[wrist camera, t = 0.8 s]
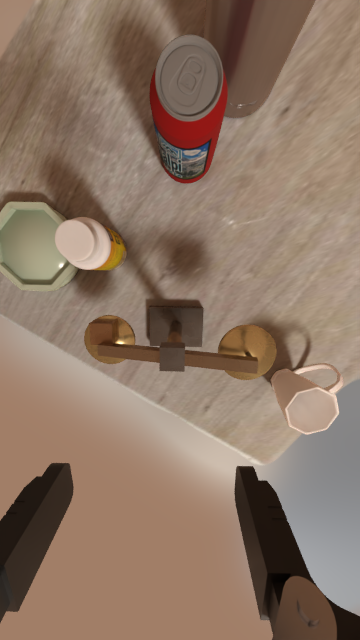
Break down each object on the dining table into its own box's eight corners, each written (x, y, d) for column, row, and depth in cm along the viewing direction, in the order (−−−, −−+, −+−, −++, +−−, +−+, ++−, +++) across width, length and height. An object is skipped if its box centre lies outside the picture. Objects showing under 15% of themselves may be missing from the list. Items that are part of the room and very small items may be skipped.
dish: (-8, 203, 30) (-20, 199, 28) (78, 205, 30) (71, 201, 28) (6, 289, 32) (-4, 290, 31) (84, 291, 32) (79, 292, 31)
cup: (253, 378, 35) (274, 408, 27) (305, 340, 34) (342, 361, 26) (277, 406, 36) (304, 444, 28) (328, 372, 35) (371, 401, 27)
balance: (108, 342, 34) (55, 392, 20) (106, 305, 33) (47, 330, 18) (243, 345, 34) (287, 398, 20) (247, 308, 33) (297, 336, 18)
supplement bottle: (135, 247, 31) (112, 235, 21) (114, 278, 32) (82, 280, 22) (103, 221, 30) (64, 197, 20) (82, 254, 31) (35, 246, 21)
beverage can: (152, 168, 29) (131, 97, 17) (177, 116, 27) (172, 0, 16) (195, 196, 29) (203, 145, 18) (221, 146, 28) (249, 56, 16)
